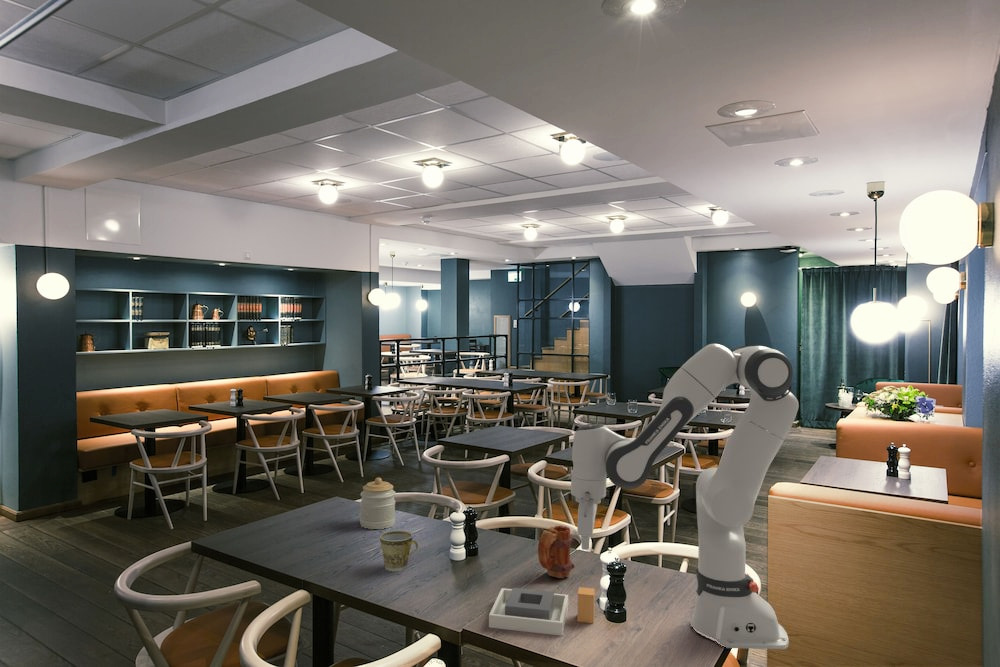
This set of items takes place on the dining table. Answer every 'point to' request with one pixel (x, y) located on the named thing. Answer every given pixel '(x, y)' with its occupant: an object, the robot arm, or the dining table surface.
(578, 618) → the plug
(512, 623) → the walled box
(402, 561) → the ceramic cup
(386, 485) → the jar
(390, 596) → the dining table surface
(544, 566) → the mug
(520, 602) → the socket block
